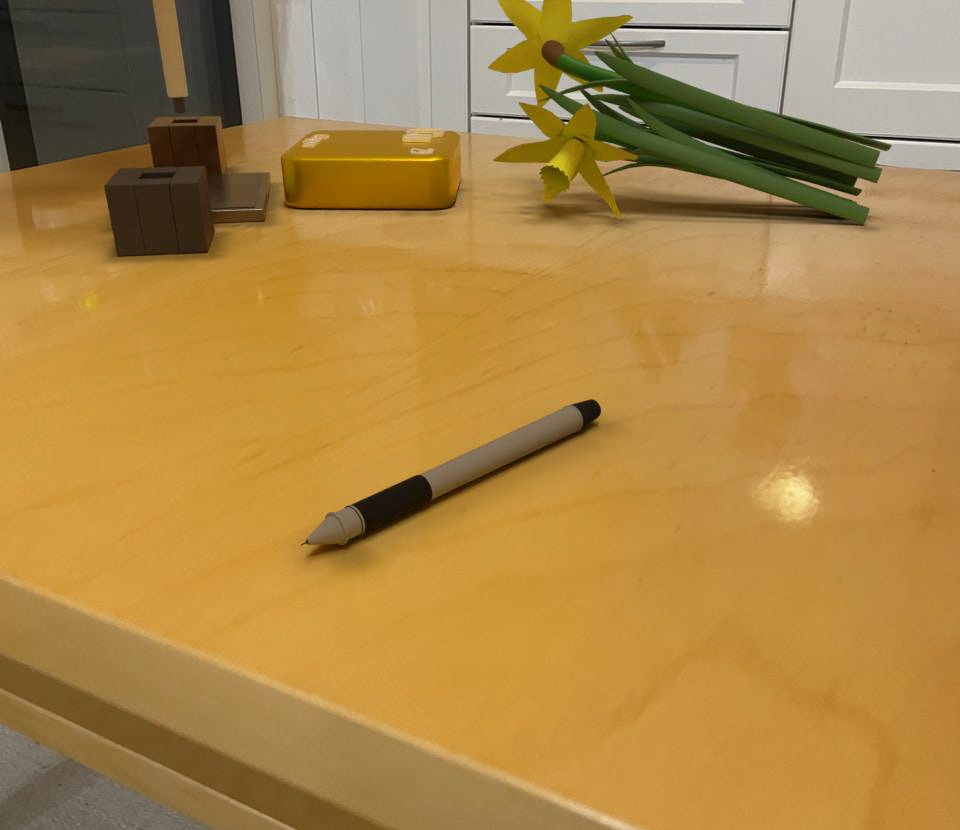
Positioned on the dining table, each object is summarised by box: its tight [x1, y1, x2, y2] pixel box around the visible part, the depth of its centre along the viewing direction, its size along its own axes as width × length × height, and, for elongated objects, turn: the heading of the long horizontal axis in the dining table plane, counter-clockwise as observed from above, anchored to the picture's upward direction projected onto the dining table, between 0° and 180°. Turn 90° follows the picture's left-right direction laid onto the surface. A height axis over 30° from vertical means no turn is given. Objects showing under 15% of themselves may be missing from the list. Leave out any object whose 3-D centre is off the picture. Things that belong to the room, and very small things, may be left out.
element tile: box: [280, 127, 462, 210], centre depth 86 cm, size 15×15×5 cm
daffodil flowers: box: [487, 0, 893, 226], centre depth 78 cm, size 17×15×35 cm
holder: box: [103, 166, 216, 257], centre depth 70 cm, size 6×6×5 cm
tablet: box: [207, 171, 272, 224], centre depth 83 cm, size 12×16×1 cm
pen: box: [300, 398, 602, 546], centre depth 38 cm, size 1×16×1 cm, turn 136°
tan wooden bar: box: [152, 0, 189, 114], centre depth 72 cm, size 2×2×14 cm
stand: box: [146, 115, 228, 174], centre depth 94 cm, size 6×6×5 cm
